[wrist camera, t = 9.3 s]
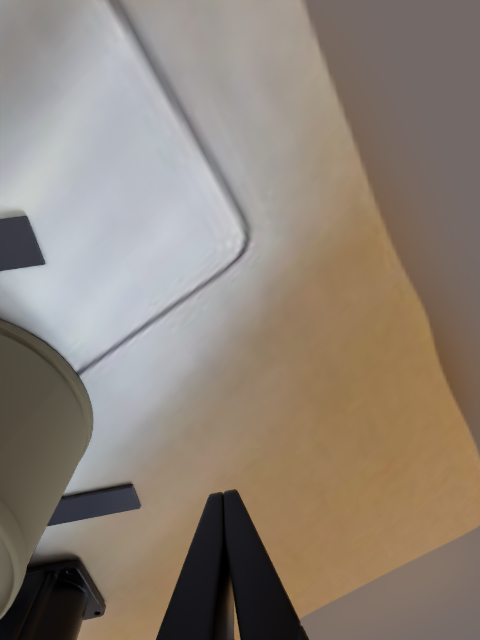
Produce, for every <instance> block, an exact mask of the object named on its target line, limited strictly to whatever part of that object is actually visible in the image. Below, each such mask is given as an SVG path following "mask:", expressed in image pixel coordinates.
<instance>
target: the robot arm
mask: <svg viewBox="0 0 480 640" xmlns="http://www.w3.org/2000/svg"><path fill="white" fill-rule="evenodd" d="M234 602H235V608H236V614H237V620H238V626H239V633H240V639H241V640H309V638H308V636H307V634H306V632H305V630H304V628H303V626H301V624H300V620H299V618H298V616H297V614H296V612H295V610H294V608H293V605H292V603H291V601H290V599H289V597H288V595H287V593H286V591H285V589H284V587H283V585H282V583H281V580H280V578H279V576H278V574H277V572H276V570H275V568H274V566H273V564H272V562H271V560H270V557H269V555H268V553H267V551H266V549H265V547H264V545H263V543H262V541H261V539H260V537H259V535H258V532H257V530H256V528H255V526H254V524H253V522H252V520H251V518H250V516H249V514H248V512H247V510H246V507H245V505H244V503H243V501H242V499H241V497H240V495H239V493H238V491H237V490H236V489H234V490H228V491H225V492H224V494H223V493H222V492H218V493H213V494H210V495H209V497H208V499H207V502H206V505H205V507H204V510H203V513H202V516H201V518H200V521H199V524H198V526H197V529H196V532H195V535H194V537H193V540H192V543H191V545H190V548H189V551H188V554H187V556H186V559H185V562H184V564H183V567H182V570H181V573H180V575H179V578H178V581H177V584H176V586H175V589H174V592H173V594H172V597H171V600H170V603H169V605H168V608H167V611H166V613H165V616H164V619H163V622H162V624H161V627H160V630H159V632H158V635H157V638H156V640H234ZM105 608H106V605H105V603H104V601H103V600H102V598H101V596H100V595H99V593H98V591H97V590H96V588H95V586H94V584H93V583H92V581H91V579H90V578H89V576H88V574H87V572H86V571H85V569H84V567H83V566H82V564H81V563H80V562H79V561H76V560H71V561H66V562H61V563H56V564H51V565H46V566H41V567H36V568H32V569H27V570H26V574H25V577H24V580H23V583H22V585H21V588H20V590H19V592H18V594H17V596H16V598H15V600H14V602H13V603H12V605H11V607H10V608H9V609H8V611H7V612H6V614H5V615H4V616H3V617H2V618H1V619H0V640H77V637H78V634H79V631H80V628H81V625H82V621H83V620H87V619H91V618H96V617H100V616H102V615H103V614H104V612H105Z"/></svg>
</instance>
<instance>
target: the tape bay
mask: <svg viewBox="0 0 480 640" xmlns="http://www.w3.org/2000/svg"><path fill="white" fill-rule="evenodd" d="M44 264H45V261H44V259H43V256H42V254H41V251H40V249H39V246H38V244H37V241H36V239H35V236H34V234H33V231H32V228H31V226H30V223H29V221H28V218H27V216H21V217H14V218H6V219H0V271H3V270H10V269H17V268H24V267H31V266H38V265H44ZM140 507H141V505H140V502H139V499H138V497H137V494H136V492H135V489H134V487H133V485H127V486H122V487H117V488H111V489H106V490H101V491H96V492H90V493H85V494H80V495H74V496H69V497H64V498H61V499H60V501H59V503H58V505H57V507H56V508H55V510H54V512H53V514H52V516H51V518H50V520H49V522H48V524H47V526H51V525H57V524H62V523H67V522H72V521H77V520H82V519H87V518H93V517H98V516H103V515H108V514H113V513H118V512H124V511H129V510H134V509H139V508H140Z"/></svg>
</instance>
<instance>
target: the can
mask: <svg viewBox="0 0 480 640" xmlns="http://www.w3.org/2000/svg"><path fill="white" fill-rule="evenodd" d="M92 430H93V411H92V406H91V402H90V399H89V396H88V394H87V391H86V389H85V387H84V385H83V384H82V382H81V380H80V378H79V377H78V376H77V374H76V373H75V371H74V370H73V369H72V368H71V367H70V365H69V364H68V363H67V362H66V361H65V360H64V359H63V358H62V357H61V356H60V355H59V354H58V353H57V352H56V351H54V350H53V349H52V348H51V347H49V346H48V345H47V344H45V343H44V342H42V341H41V340H39V339H38V338H37V337H35V336H33V335H31V334H30V333H28V332H26V331H25V330H22V329H20V328H18V327H16V326H14V325H12V324H10V323H7V322H5V321H2V320H0V619H1V618H2V617H3V616H4V615H5V614H6V612H7V611H8V609H9V608H10V607H11V605H12V603H13V602H14V600H15V598H16V596H17V594H18V592H19V590H20V588H21V585H22V583H23V580H24V577H25V574H26V568H27V565H28V563H29V561H30V558H31V556H32V554H33V552H34V550H35V548H36V546H37V544H38V542H39V540H40V538H41V536H42V534H43V532H44V530H45V528H46V526H47V524H48V522H49V520H50V518H51V516H52V514H53V512H54V510H55V508H56V507H57V505H58V503H59V501H60V499H61V497H62V495H63V493H64V491H65V489H66V487H67V485H68V483H69V481H70V479H71V477H72V475H73V473H74V471H75V469H76V467H77V465H78V463H79V461H80V460H81V458H82V457H83V455H84V453H85V451H86V449H87V447H88V445H89V442H90V439H91V435H92Z"/></svg>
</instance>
